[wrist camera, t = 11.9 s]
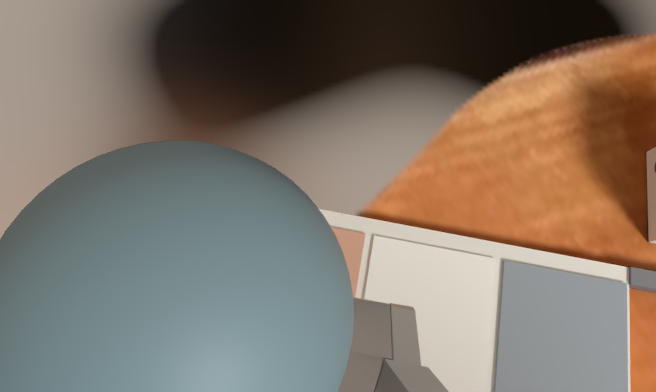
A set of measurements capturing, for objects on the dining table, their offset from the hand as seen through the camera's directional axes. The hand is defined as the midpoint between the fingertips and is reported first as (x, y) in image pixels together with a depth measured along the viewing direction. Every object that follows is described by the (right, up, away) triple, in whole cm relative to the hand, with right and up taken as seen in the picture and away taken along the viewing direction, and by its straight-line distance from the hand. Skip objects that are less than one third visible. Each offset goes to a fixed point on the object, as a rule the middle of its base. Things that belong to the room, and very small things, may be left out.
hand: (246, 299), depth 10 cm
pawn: (0, -3, +6) cm, 6 cm away
